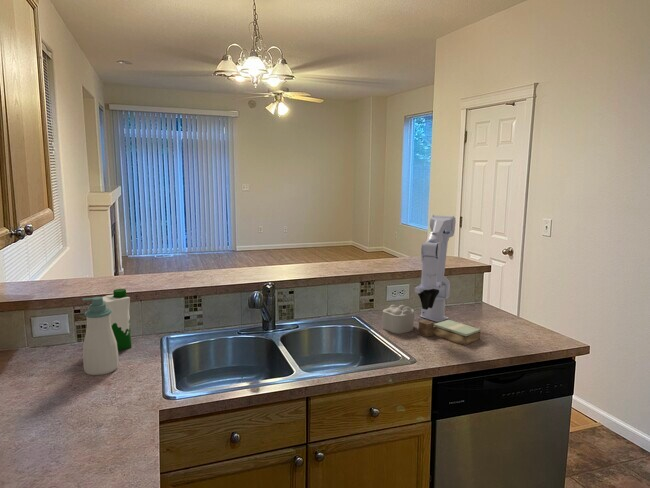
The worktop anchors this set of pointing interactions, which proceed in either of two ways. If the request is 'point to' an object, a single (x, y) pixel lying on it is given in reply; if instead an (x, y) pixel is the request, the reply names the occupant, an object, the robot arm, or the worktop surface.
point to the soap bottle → (99, 340)
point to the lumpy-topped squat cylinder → (398, 319)
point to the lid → (457, 327)
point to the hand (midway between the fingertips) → (427, 308)
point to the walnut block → (426, 328)
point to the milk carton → (120, 317)
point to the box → (456, 336)
